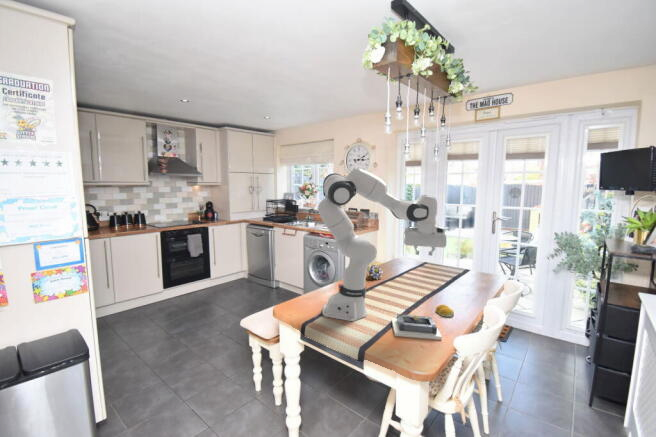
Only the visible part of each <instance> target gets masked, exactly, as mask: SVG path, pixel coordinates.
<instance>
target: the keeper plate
mask: <svg viewBox="0 0 656 437" xmlns="http://www.w3.org/2000/svg"><path fill="white" fill-rule="evenodd" d="M419 316H420V315H418V314H413V318H414V323H415V324H418V319H419ZM390 321H391V325H392V329H393V334H394V336H395V337H403V338H404V337H406V338H407V337H408V338H417V339H429V340H438V341H440V340H441V341H442V338H443V336H442V334H441V333H440V331H439V329H438V327H437V334H432V333H421V332H410V331H400V330H399V326H398V322H397V317H391V320H390Z"/></svg>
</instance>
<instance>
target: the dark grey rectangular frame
mask: <svg viewBox="0 0 656 437" xmlns="http://www.w3.org/2000/svg"><path fill="white" fill-rule="evenodd" d="M413 316H414V314H413V315H412V314H411V315H410V314H403V313H402V314H400V313H398V314H397V316H396V318H397V322H398V326H399V330H400V331H410V332H421V333H432V334H437V328H438V327H437V326H438V325H436V323H435V320H434V319H433V317H432V316H425V315H418V316H419V319H418V324H415V323H414V318H413Z"/></svg>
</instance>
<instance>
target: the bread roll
mask: <svg viewBox="0 0 656 437" xmlns="http://www.w3.org/2000/svg"><path fill="white" fill-rule="evenodd" d="M435 310H436V313H437V314H438V315H439V316H441V317H444V318H445V317H446V318H451V317H453V316H454V314H455V313H454V310H453V309H452V308H450V307H449V306H448V305H447V304H439V305H437V306H436V308H435Z"/></svg>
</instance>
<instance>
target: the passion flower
mask: <svg viewBox="0 0 656 437" xmlns="http://www.w3.org/2000/svg"><path fill="white" fill-rule="evenodd" d="M367 272H368V273H369V277H372V279H373V280H376V281H378V280H379V278H382V274H383V273H384V271H383V270H382V268H381V267H380V266H379V265H378V264H374V262H372V263H371V266H368V269H367Z"/></svg>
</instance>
